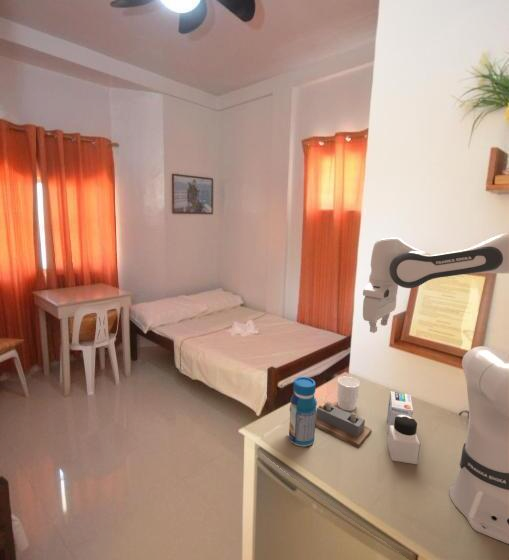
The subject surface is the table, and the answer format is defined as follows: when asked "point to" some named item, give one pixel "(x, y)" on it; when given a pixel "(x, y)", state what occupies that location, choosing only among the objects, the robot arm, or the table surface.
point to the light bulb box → (398, 407)
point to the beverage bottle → (303, 412)
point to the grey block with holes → (340, 420)
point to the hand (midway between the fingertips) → (378, 328)
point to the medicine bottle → (403, 440)
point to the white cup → (347, 393)
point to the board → (342, 434)
